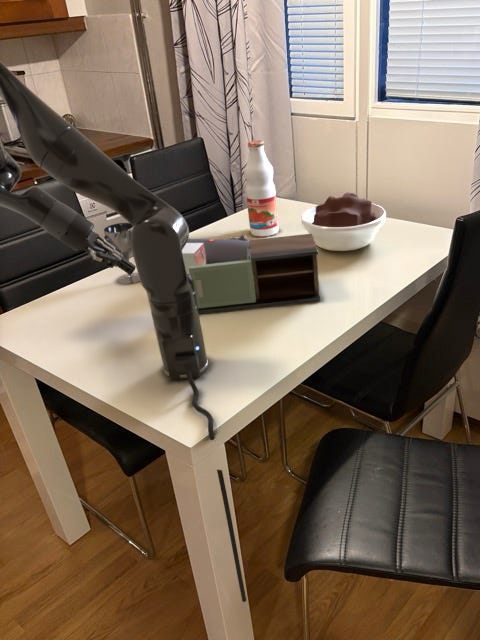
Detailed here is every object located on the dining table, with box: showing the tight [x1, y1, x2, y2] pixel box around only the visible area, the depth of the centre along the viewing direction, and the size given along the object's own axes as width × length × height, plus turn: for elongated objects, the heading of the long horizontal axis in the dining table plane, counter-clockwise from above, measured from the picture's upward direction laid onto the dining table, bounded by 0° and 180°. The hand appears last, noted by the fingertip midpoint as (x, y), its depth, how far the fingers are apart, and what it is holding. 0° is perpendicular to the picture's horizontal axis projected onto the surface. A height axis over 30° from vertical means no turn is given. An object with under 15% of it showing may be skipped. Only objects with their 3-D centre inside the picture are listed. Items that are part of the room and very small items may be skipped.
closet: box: [248, 233, 320, 300], centre depth 150 cm, size 10×16×13 cm, turn 95°
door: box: [189, 260, 256, 308], centre depth 144 cm, size 2×15×11 cm, turn 95°
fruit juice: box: [243, 139, 280, 237], centre depth 185 cm, size 9×9×28 cm
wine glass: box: [103, 222, 140, 285], centre depth 164 cm, size 8×8×15 cm
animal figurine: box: [229, 233, 249, 241], centre depth 181 cm, size 12×4×5 cm
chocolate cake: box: [300, 192, 387, 252], centre depth 174 cm, size 25×25×15 cm
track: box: [198, 246, 321, 315], centre depth 144 cm, size 3×32×13 cm, turn 95°
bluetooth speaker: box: [187, 238, 251, 264], centre depth 166 cm, size 23×9×10 cm
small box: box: [182, 243, 207, 275], centre depth 159 cm, size 8×6×10 cm
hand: (133, 270), depth 140 cm, fingers closed
